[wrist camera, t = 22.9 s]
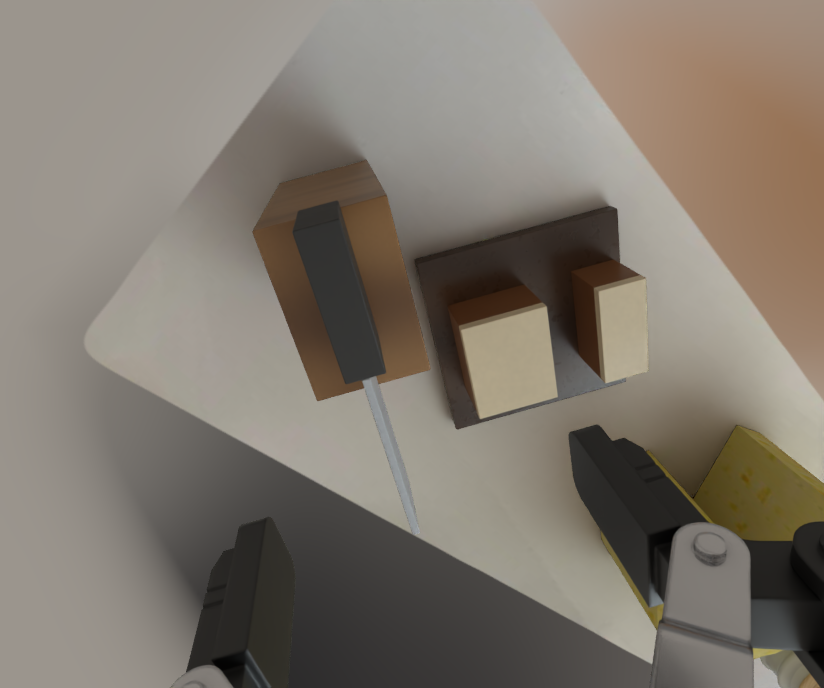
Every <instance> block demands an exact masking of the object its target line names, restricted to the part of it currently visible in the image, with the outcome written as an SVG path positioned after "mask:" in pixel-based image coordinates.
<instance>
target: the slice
mask: <svg viewBox="0 0 824 688" xmlns="http://www.w3.org/2000/svg"><path fill="white" fill-rule="evenodd" d="M571 277H572V287H573V297H574V307H575V317H576V328H577V338H578V348H579V356H580V357H581V358H582V359H583V361H584V362H585V363H586V364H587V365H588V366H589V367H590V368H591V369H592V370H593V371H594V372H595V373H596V374H597V375H598V376H599V377H600V378H601V379H602V380H603V382H604V383H609V382H612V381H616V380H620V379H623V378H627V377H630V376H634V375H637V374H641V373H644V372H648V371H649V366H648V330H647V293H646V278H645V277H643V276H641V275H640V274H638V273H636V272H634V271H633V270H631V269H629V268H627V267H626V266H624V265H622V264H621V263H619V262H617V261H615V260H610V261H606V262H602V263H599V264H595V265H592V266H588V267H585V268H581V269H577V270H574V271H571Z"/></svg>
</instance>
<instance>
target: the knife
mask: <svg viewBox="0 0 824 688" xmlns="http://www.w3.org/2000/svg"><path fill="white" fill-rule="evenodd" d="M292 233H293V236H294V239H295V242H296V245H297V248H298V251H299V253H300V256H301V259H302V262H303V265H304V268H305V271H306V273H307V276H308V279H309V282H310V285H311V288H312V291H313V293H314V296H315V299H316V302H317V305H318V308H319V311H320V313H321V316H322V319H323V322H324V325H325V328H326V331H327V333H328V336H329V339H330V342H331V345H332V348H333V351H334V353H335V356H336V359H337V362H338V365H339V368H340V371H341V373H342V376H343V379H344V382H345V384H350V383H353V382H357V381H361V380H362V383H363V386H364V389H365V392H366V395H367V398H368V401H369V404H370V407H371V410H372V413H373V416H374V419H375V422H376V425H377V428H378V431H379V434H380V437H381V440H382V443H383V446H384V449H385V452H386V455H387V458H388V461H389V464H390V467H391V470H392V473H393V476H394V479H395V482H396V485H397V488H398V491H399V494H400V497H401V501H402V504H403V507H404V510H405V513H406V516H407V519H408V522H409V525H410V528H411V531H412V534H413V535H414V534H418V533H420V531H419V526H418V521H417V516H416V511H415V506H414V502H413V497H412V492H411V487H410V483H409V479H408V476H407V473H406V470H405V467H404V463H403V460H402V457H401V454H400V451H399V448H398V444H397V441H396V438H395V435H394V432H393V428H392V425H391V422H390V419H389V416H388V413H387V409H386V406H385V403H384V400H383V397H382V393H381V390H380V387H379V384H378V381H377V378H376V376H378V375H382V374H385V373H386V369H385V364H384V359H383V354H382V349H381V344H380V339H379V335H378V332H377V328H376V325H375V322H374V318H373V315H372V311H371V308H370V305H369V301H368V298H367V295H366V291H365V288H364V285H363V281H362V278H361V275H360V271H359V268H358V265H357V261H356V258H355V255H354V251H353V248H352V245H351V241H350V238H349V235H348V231H347V228H346V225H345V221H344V218H343V214H342V211H341V208H340V204H339V201H338V200H336V201H332V202H329V203H325V204H321V205H318V206H314V207H310V208H307V209H303V210H299V211H298V213H297V216H296V220H295V224H294V227H293V231H292Z"/></svg>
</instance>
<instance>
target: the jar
mask: <svg viewBox="0 0 824 688" xmlns="http://www.w3.org/2000/svg"><path fill="white" fill-rule="evenodd" d="M759 658H760V659H761V662H762V663H763V665H764V666H765V667H766V668H768V669H770V670H772V671H773V672H774V673H775V674H776V676H777V679H778V684H779V686H780V687H781V688H821V687H820V686H819V685H818V683H817V682H816V681H815V680H814V678H813V677H812V676H811V674H810V673H809V672H808V670H807V669H806V668H805V666H804V665H803V664H802V662H801V661H800V660H799V658H798V657H797V656H796V654H795V653H794V652H793V651H792V650H782V651H780V652H778V653H776V654H771V655H766V656H763V657H759Z"/></svg>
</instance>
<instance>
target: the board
mask: <svg viewBox="0 0 824 688" xmlns="http://www.w3.org/2000/svg"><path fill="white" fill-rule="evenodd" d="M610 260H615V261H617V262H619V263H620V254H619V234H618V214H617V209H616V208H614V207H611V206H608V207H604V208H601V209H597V210H593V211H590V212H586V213H582V214H579V215H575V216H571V217H568V218H564V219H560V220H557V221H553V222H550V223H546V224H542V225H539V226H535V227H531V228H528V229H524V230H520V231H517V232H513V233H509V234H506V235H502V236H499V237H495V238H491V239H488V240H484V241H480V242H477V243H473V244H469V245H466V246H462V247H458V248H455V249H451V250H448V251H444V252H440V253H437V254H433V255H429V256H426V257H422V258H418V259H415V260H414V261H415V265H416V269H417V273H418V277H419V281H420V285H421V289H422V294H423V298H424V302H425V306H426V310H427V314H428V318H429V322H430V327H431V331H432V335H433V339H434V343H435V347H436V351H437V355H438V360H439V364H440V368H441V372H442V376H443V380H444V384H445V388H446V393H447V397H448V401H449V405H450V409H451V413H452V417H453V421H454V424H455V427H456V429H460V428H464V427H467V426H471V425H474V424H478V423H481V422H485V421H489V420H492V419H496V418H499V417H503V416H506V415H510V414H513V413H517V412H520V411H524V410H527V409H531V408H534V407H538V406H542V405H545V404H549V403H552V402H556V401H559V400H563V399H566V398H570V397H573V396H577V395H580V394H584V393H587V392H591V391H594V390H598V389H602V388H605V387H609V386H612V385H616V384H619V383H623V382H626V378H623V379H620V380H616V381H612V382H609V383H604V382H603V380H602V379H601V378H600V377H599V376H598V375H597V374H596V373H595V372H594V371H593V370H592V369H591V368H590V367H589V366H588V365H587V364H586V363H585V362H584V361H583V359H582V358H581V357H580V356H579V348H578V338H577V328H576V317H575V307H574V297H573V287H572V277H571V271H574V270H577V269H581V268H585V267H588V266H592V265H595V264H599V263H602V262H606V261H610ZM520 285H525V286H526V287H527V288H528V289H529V290H531V291H532V292H533V293H534V294H535V295H536V296H537V297H538V298H539V299H540V300H541V301H542V302H543V303H544V304H545V305H546V306H547V313H548V321H549V329H550V337H551V345H552V353H553V361H554V369H555V378H556V386H557V394H558V397H557V398H553V399H550V400H546V401H542V402H539V403H535V404H532V405H528V406H525V407H521V408H518V409H514V410H511V411H507V412H504V413H500V414H497V415H493V416H489V417H486V418H482V419H480V418H479V416H478V414H477V412H476V410H475V408H474V405H473V403H472V401H471V399H470V397H469V395H468V392H467V390H466V388H465V383H464V379H463V374H462V370H461V365H460V361H459V356H458V352H457V347H456V343H455V338H454V334H453V329H452V325H451V320H450V316H449V311H448V307H447V306H448V305H452V304H455V303H459V302H463V301H466V300H470V299H473V298H477V297H481V296H484V295H488V294H491V293H495V292H499V291H502V290H506V289H509V288H513V287H517V286H520Z"/></svg>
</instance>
